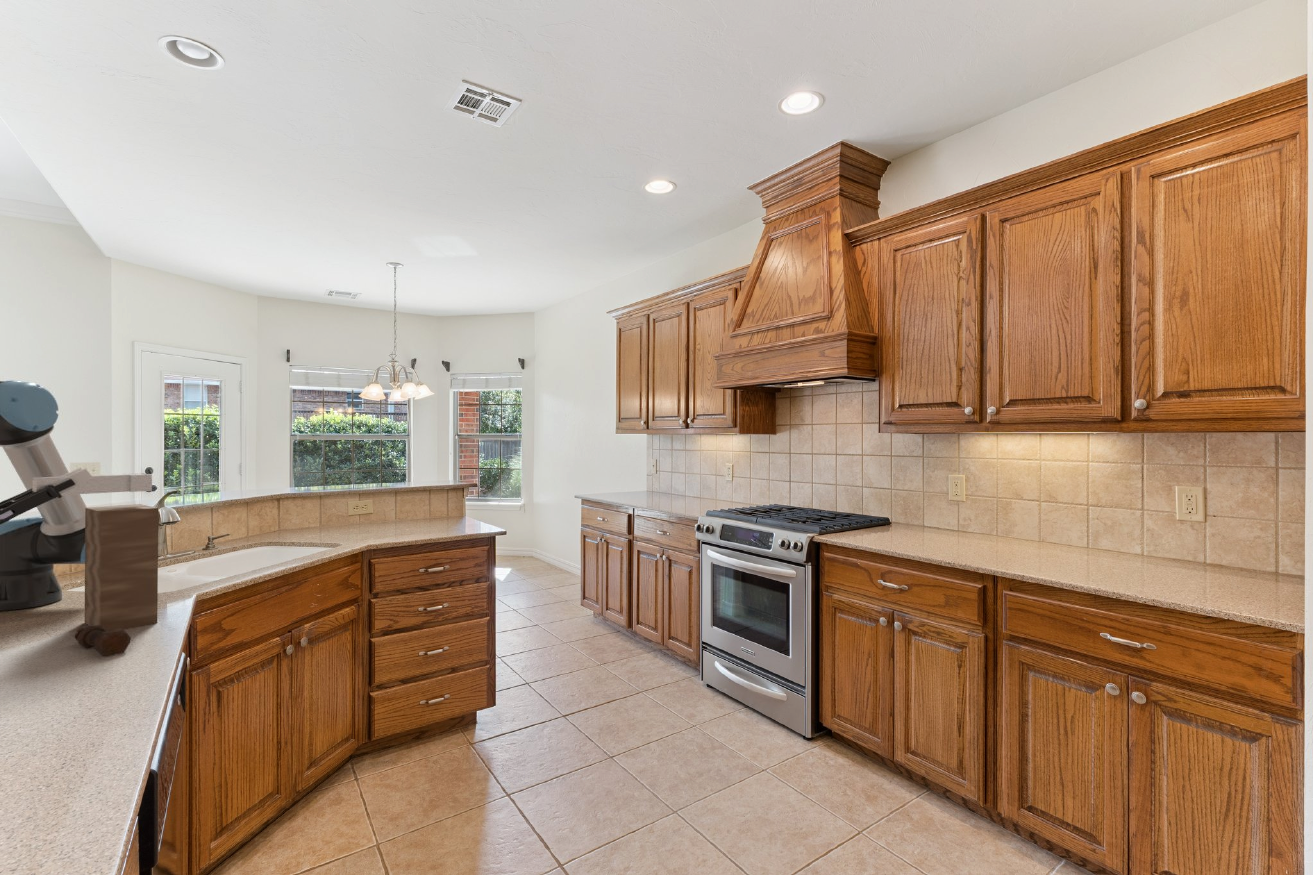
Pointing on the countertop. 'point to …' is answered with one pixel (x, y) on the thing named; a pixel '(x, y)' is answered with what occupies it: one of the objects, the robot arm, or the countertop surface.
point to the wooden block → (121, 566)
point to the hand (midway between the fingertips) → (86, 473)
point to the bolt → (103, 640)
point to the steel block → (101, 484)
